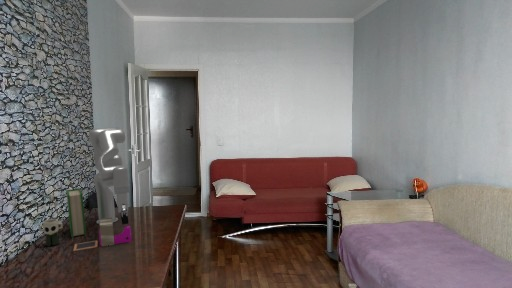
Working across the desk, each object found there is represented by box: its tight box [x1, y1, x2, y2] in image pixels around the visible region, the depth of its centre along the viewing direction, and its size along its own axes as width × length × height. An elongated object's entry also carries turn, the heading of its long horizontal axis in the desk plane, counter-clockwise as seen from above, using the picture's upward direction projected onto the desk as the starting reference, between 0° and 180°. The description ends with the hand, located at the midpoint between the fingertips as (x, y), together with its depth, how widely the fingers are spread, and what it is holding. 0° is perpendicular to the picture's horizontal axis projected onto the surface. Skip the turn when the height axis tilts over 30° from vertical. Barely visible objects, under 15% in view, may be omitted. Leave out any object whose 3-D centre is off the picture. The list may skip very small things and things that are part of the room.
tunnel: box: [99, 218, 115, 247], centre depth 189 cm, size 12×6×11 cm, turn 23°
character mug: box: [38, 218, 64, 247], centre depth 190 cm, size 11×7×13 cm, turn 111°
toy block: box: [98, 225, 132, 247], centre depth 189 cm, size 15×6×8 cm, turn 107°
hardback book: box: [66, 188, 87, 239], centre depth 208 cm, size 18×7×24 cm, turn 30°
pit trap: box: [72, 239, 99, 252], centre depth 185 cm, size 10×11×1 cm
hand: (124, 221), depth 192 cm, fingers open, 9 cm apart
